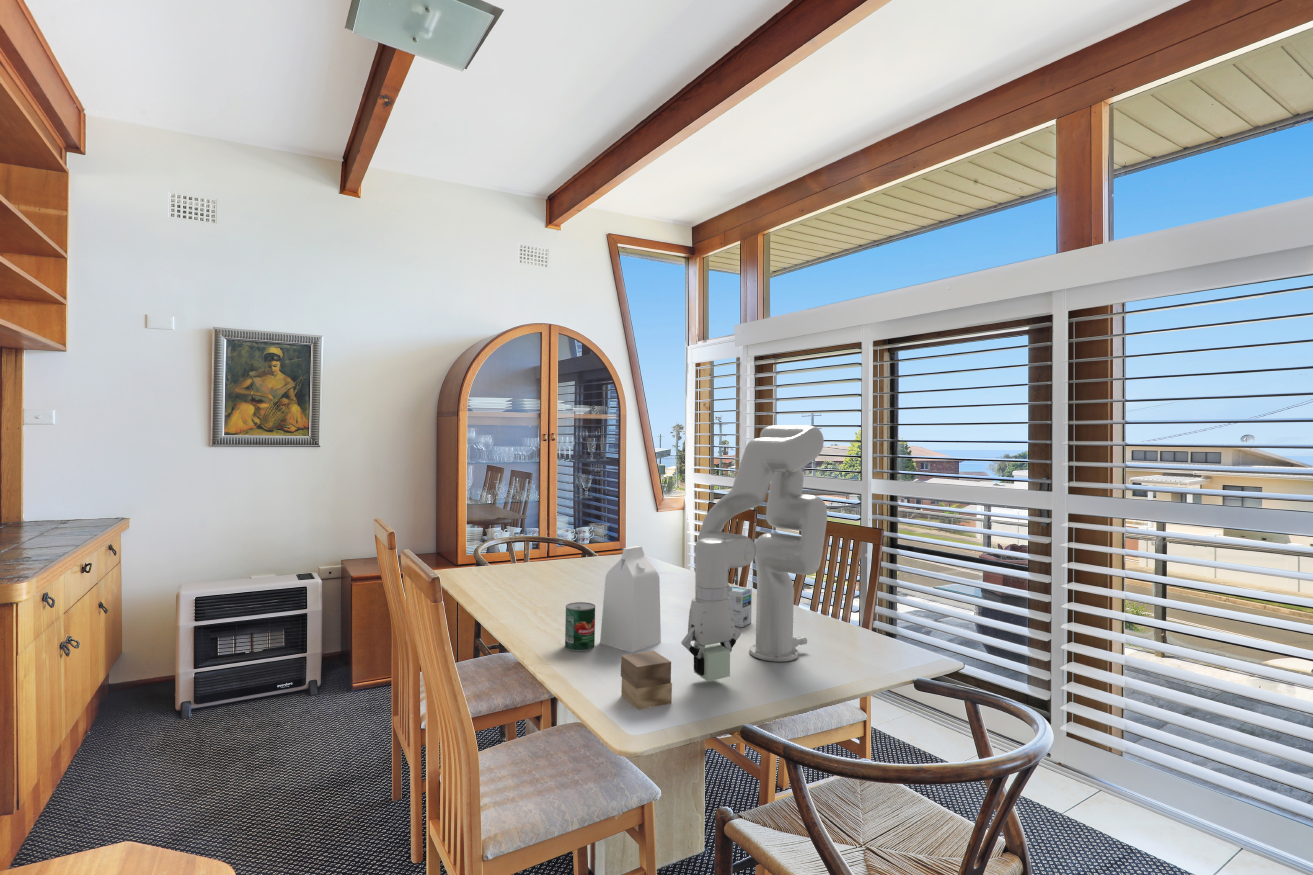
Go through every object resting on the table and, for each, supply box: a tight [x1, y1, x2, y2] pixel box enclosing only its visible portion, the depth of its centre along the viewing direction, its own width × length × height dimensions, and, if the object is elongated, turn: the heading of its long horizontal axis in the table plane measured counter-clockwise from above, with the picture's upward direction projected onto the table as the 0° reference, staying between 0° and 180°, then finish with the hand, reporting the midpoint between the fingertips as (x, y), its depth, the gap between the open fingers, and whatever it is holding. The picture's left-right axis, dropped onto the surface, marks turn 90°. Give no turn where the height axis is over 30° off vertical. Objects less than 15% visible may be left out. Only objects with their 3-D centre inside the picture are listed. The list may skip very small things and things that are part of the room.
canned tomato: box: [564, 601, 597, 653], centre depth 178 cm, size 8×8×11 cm
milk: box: [599, 545, 662, 654], centre depth 183 cm, size 12×12×26 cm
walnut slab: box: [620, 650, 672, 689], centre depth 144 cm, size 8×8×4 cm
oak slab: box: [620, 677, 673, 710], centre depth 144 cm, size 8×8×4 cm
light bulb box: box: [728, 585, 753, 628], centre depth 206 cm, size 11×7×11 cm, turn 58°
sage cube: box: [693, 643, 731, 682], centre depth 154 cm, size 6×6×6 cm
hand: (711, 669), depth 154 cm, fingers closed on sage cube, 6 cm apart
